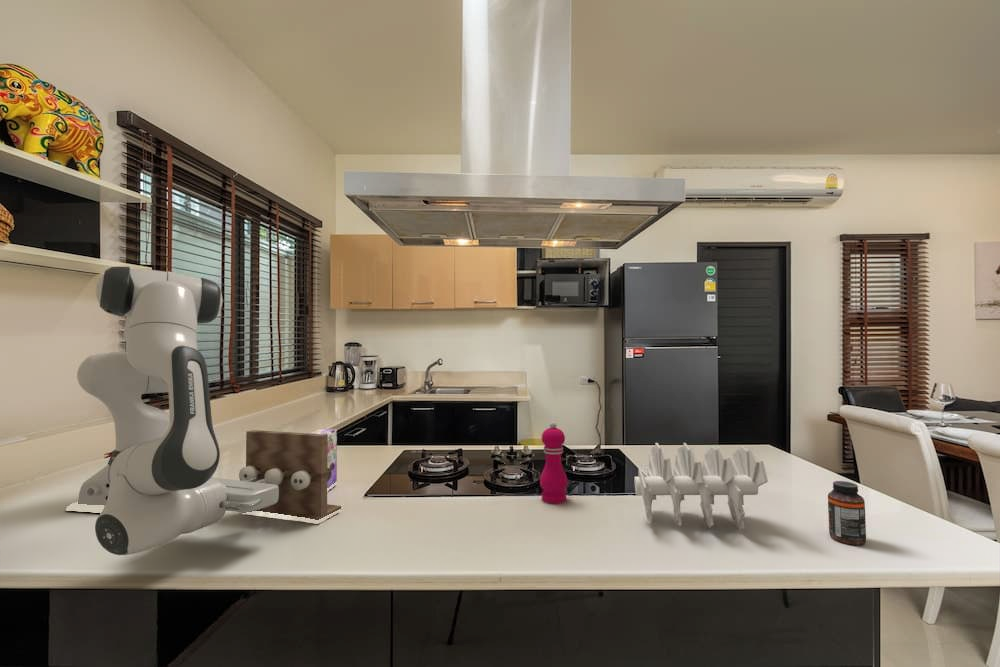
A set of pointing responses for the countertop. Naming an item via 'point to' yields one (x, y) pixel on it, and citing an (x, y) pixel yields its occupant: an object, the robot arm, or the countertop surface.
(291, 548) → the countertop surface
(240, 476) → the one dot button
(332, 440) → the candy box
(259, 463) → the button panel
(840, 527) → the supplement bottle
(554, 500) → the pepper mill
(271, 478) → the plain button
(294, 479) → the two dot button
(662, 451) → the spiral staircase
